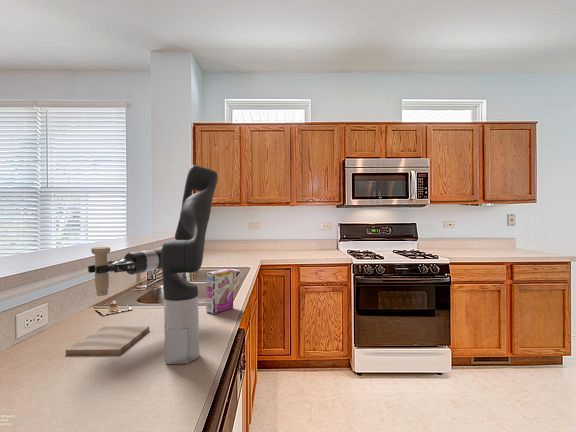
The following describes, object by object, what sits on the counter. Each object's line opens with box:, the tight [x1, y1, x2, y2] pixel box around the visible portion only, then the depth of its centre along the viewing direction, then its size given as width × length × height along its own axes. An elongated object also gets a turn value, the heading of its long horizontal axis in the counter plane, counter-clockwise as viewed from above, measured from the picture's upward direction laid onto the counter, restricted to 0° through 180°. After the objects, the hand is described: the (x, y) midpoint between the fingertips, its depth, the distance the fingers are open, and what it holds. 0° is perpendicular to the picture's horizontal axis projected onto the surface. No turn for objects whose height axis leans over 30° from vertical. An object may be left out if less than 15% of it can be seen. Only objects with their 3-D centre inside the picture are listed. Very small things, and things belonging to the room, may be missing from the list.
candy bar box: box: [205, 268, 234, 315], centre depth 144 cm, size 11×5×16 cm, turn 144°
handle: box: [90, 246, 111, 297], centre depth 110 cm, size 5×6×15 cm
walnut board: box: [65, 325, 150, 356], centre depth 111 cm, size 20×16×2 cm
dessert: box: [103, 300, 133, 316], centre depth 147 cm, size 12×12×5 cm
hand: (92, 269), depth 107 cm, fingers closed on handle, 3 cm apart
